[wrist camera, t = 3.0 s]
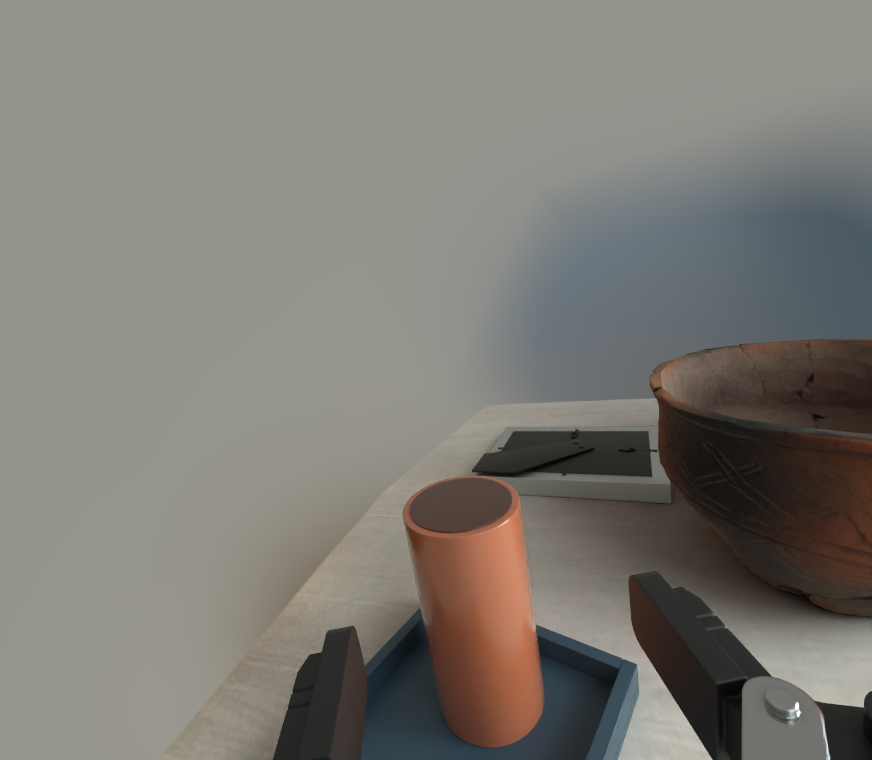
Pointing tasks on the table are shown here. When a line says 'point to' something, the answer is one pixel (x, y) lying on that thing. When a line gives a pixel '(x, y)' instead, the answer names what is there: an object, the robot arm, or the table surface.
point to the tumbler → (477, 607)
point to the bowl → (778, 459)
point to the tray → (536, 752)
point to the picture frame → (580, 463)
